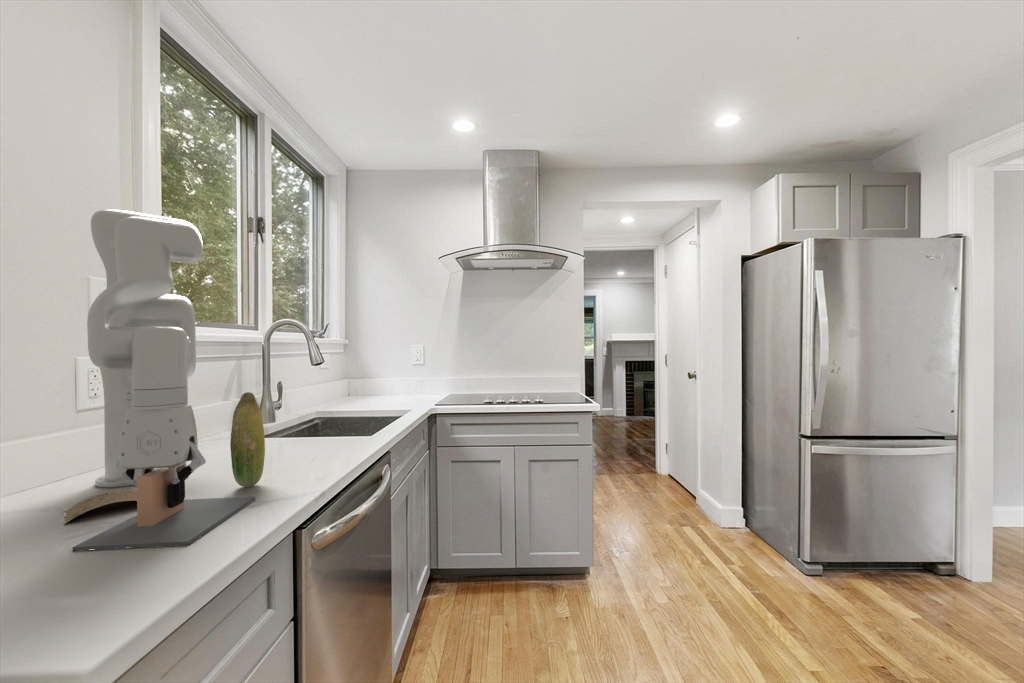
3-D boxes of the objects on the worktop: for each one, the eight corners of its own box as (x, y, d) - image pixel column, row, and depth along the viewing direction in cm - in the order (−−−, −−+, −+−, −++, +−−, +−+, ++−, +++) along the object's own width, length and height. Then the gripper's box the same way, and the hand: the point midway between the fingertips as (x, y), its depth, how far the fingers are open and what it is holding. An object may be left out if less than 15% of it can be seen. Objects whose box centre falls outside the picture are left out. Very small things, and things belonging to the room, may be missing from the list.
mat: (167, 503, 85) (167, 500, 85) (254, 499, 86) (254, 496, 86) (72, 551, 65) (72, 547, 65) (188, 545, 66) (188, 541, 66)
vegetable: (272, 484, 96) (271, 391, 96) (248, 493, 90) (247, 394, 90) (249, 482, 98) (248, 390, 98) (224, 491, 92) (223, 393, 92)
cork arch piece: (59, 530, 75) (59, 513, 75) (56, 515, 81) (56, 500, 81) (167, 506, 85) (167, 492, 85) (156, 495, 92) (156, 482, 92)
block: (171, 508, 80) (170, 464, 80) (184, 508, 80) (183, 463, 80) (137, 526, 72) (136, 477, 72) (151, 526, 72) (151, 476, 72)
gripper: (89, 402, 72) (90, 516, 72) (198, 399, 74) (199, 511, 73) (125, 397, 80) (126, 500, 79) (224, 395, 81) (225, 496, 81)
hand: (161, 504), depth 76 cm, fingers open, 3 cm apart
